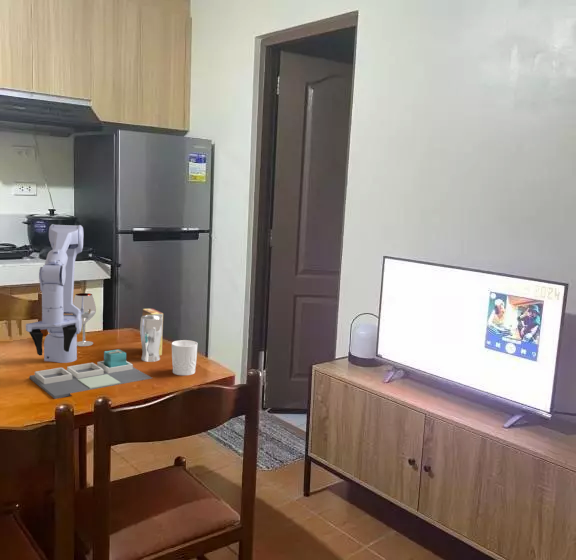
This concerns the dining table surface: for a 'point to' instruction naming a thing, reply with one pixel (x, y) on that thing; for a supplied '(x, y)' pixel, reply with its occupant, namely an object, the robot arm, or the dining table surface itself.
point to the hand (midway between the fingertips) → (53, 352)
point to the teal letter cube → (114, 358)
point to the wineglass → (85, 312)
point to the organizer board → (85, 378)
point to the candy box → (155, 312)
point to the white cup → (184, 357)
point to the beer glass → (150, 337)
